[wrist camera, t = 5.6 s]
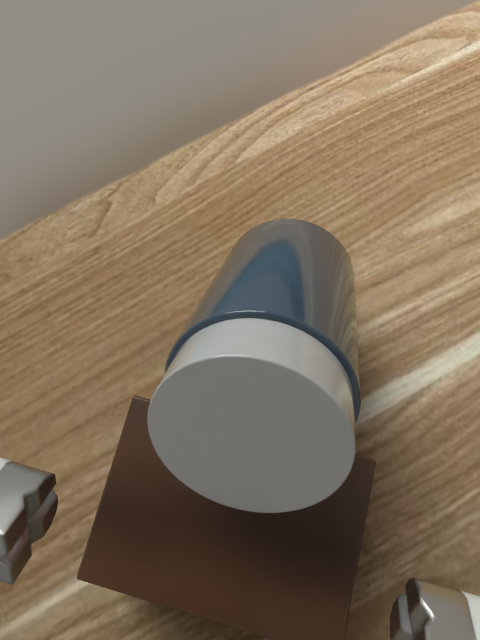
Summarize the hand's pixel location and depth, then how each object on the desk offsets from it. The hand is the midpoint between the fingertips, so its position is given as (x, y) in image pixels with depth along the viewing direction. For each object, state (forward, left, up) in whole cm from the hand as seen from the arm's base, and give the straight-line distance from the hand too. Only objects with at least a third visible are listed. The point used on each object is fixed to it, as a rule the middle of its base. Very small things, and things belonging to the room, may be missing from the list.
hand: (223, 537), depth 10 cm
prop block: (0, -1, -12) cm, 12 cm away
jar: (-2, +5, -12) cm, 14 cm away
